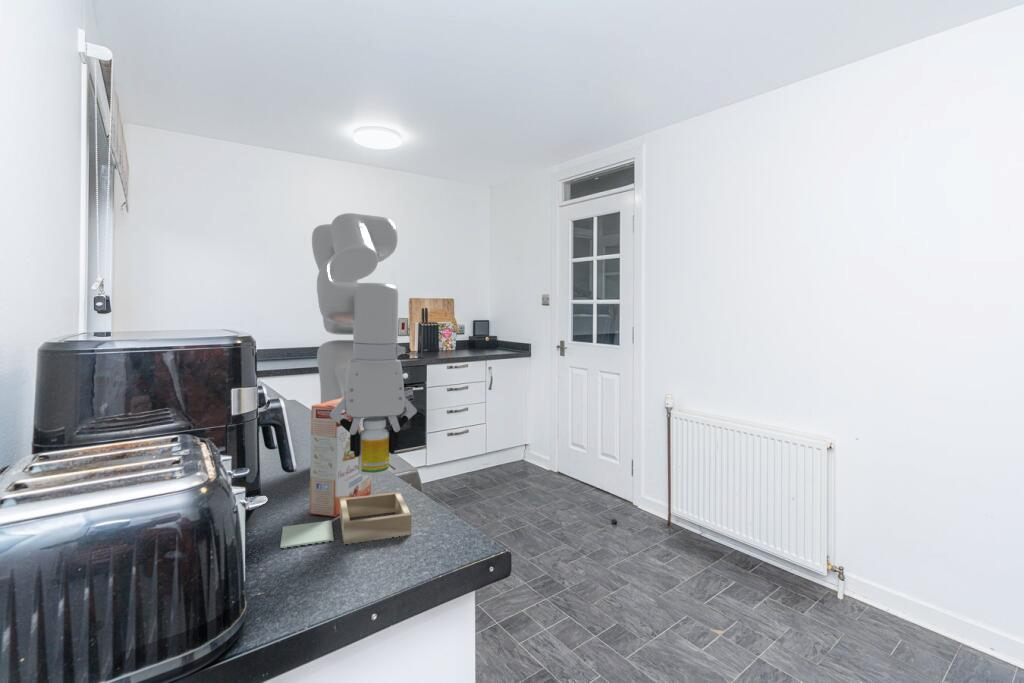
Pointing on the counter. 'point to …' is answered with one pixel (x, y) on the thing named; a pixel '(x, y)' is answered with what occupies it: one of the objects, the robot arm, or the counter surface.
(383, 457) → the supplement bottle
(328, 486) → the cracker box
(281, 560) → the counter surface
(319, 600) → the counter surface
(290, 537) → the green mat
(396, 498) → the birch box
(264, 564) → the counter surface
